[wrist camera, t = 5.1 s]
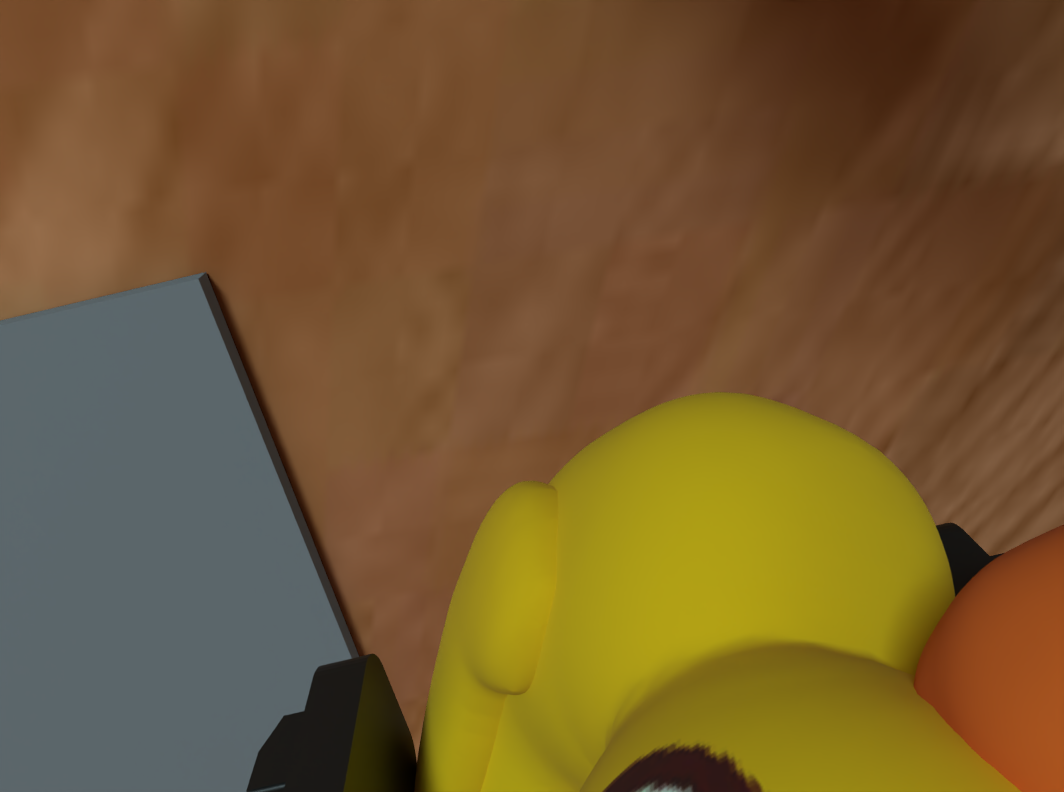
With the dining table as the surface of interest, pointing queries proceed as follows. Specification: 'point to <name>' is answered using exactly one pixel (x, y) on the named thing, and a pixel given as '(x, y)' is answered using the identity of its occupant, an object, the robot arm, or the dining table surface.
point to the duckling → (741, 625)
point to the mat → (147, 553)
